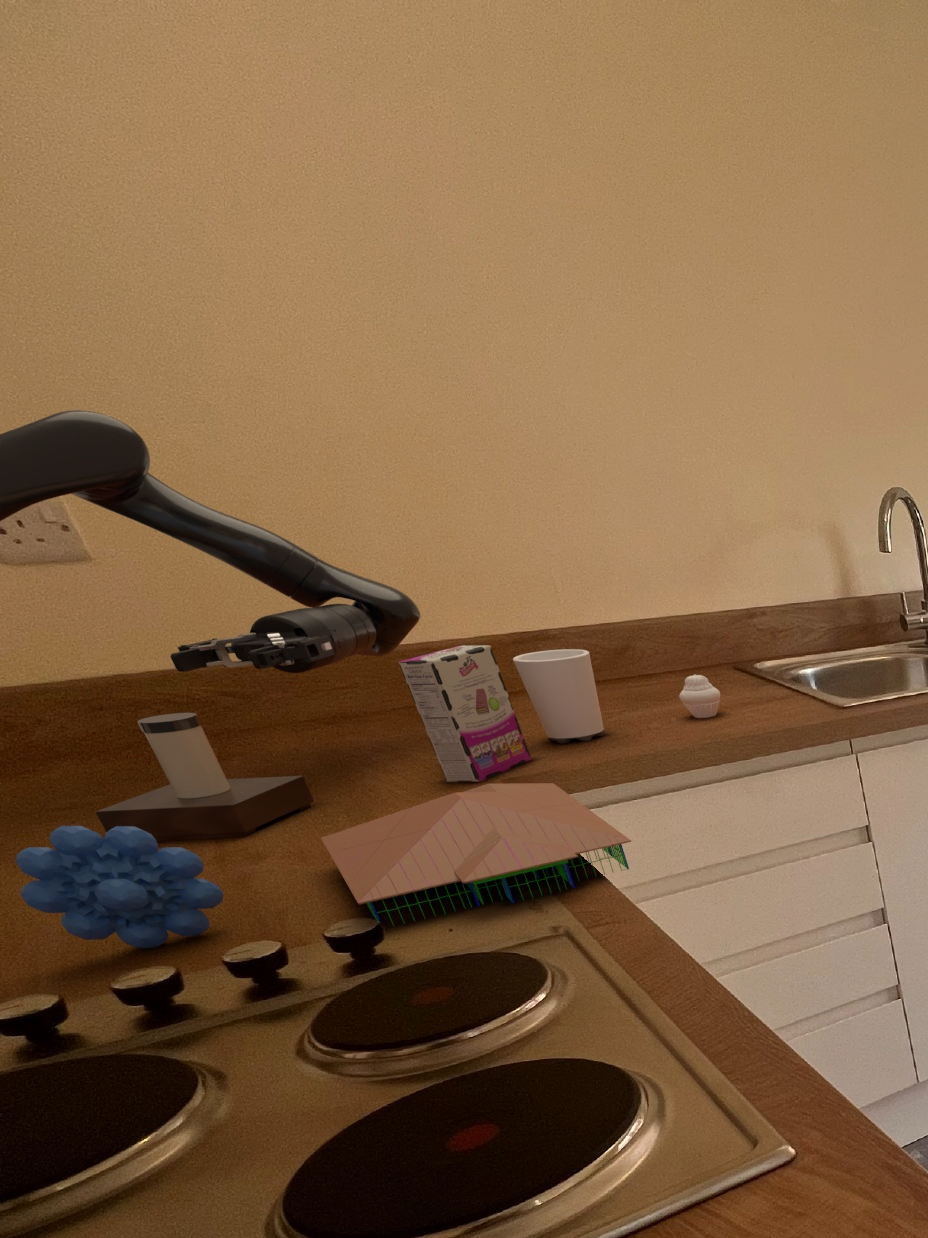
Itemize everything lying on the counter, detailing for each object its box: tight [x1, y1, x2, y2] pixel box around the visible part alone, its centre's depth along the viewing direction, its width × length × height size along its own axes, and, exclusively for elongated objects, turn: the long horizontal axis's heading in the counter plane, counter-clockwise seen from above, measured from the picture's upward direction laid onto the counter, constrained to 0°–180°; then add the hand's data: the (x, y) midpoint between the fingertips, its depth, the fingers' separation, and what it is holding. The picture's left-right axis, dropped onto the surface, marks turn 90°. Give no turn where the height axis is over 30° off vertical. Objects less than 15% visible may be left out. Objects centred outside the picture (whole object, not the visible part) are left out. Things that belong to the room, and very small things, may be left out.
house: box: [320, 782, 632, 927], centre depth 111 cm, size 23×33×8 cm
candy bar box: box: [397, 644, 532, 783], centre depth 142 cm, size 11×5×16 cm, turn 179°
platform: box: [95, 775, 315, 842], centre depth 125 cm, size 14×12×4 cm
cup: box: [512, 648, 605, 744], centre depth 159 cm, size 10×10×13 cm
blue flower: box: [15, 825, 224, 949], centre depth 91 cm, size 12×7×12 cm, turn 134°
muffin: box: [678, 673, 721, 719], centre depth 173 cm, size 6×6×7 cm
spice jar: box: [137, 712, 231, 799], centre depth 122 cm, size 5×5×9 cm
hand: (216, 661), depth 127 cm, fingers open, 8 cm apart
